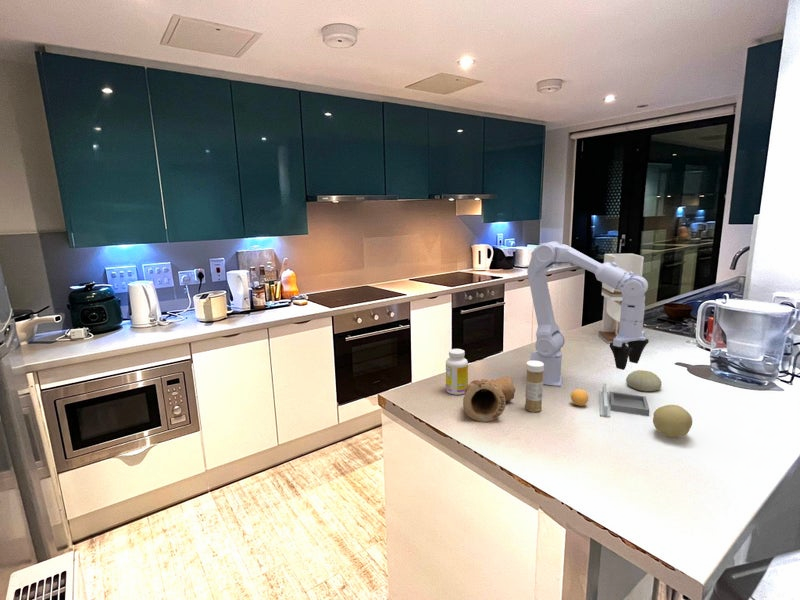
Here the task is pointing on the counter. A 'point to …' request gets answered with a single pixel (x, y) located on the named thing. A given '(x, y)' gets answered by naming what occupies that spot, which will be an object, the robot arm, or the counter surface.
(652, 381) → the sea urchin shell
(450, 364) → the supplement bottle
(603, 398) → the divider
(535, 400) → the sprinkles bottle
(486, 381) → the clay pipe
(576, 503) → the counter surface
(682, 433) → the potato
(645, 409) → the dish
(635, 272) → the tall curved cream stand
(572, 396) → the ball
